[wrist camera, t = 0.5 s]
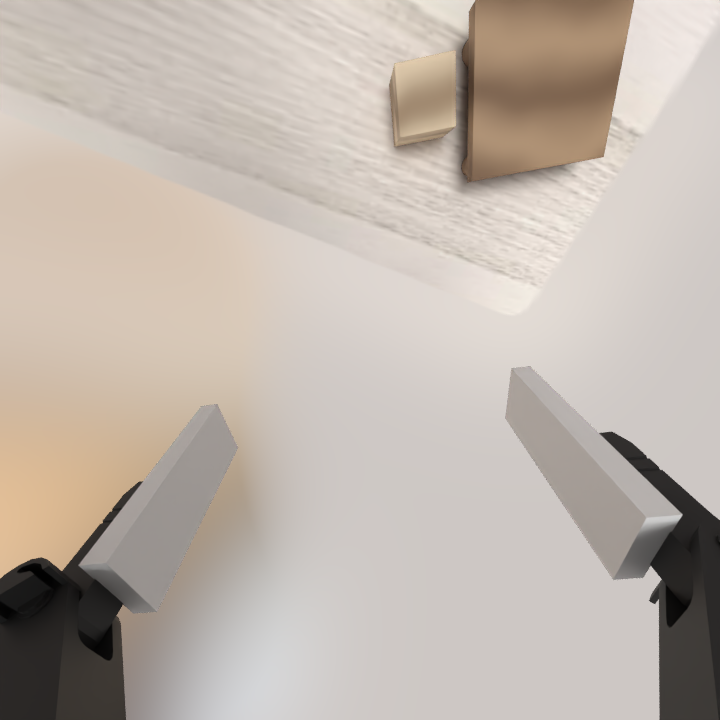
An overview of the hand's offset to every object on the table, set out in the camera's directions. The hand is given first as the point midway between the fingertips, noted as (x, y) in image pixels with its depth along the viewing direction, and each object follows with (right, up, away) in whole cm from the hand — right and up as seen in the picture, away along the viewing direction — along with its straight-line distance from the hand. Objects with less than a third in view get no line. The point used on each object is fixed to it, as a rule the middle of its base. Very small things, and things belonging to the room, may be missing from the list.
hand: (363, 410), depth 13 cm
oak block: (+6, +27, +16) cm, 32 cm away
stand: (+16, +28, +16) cm, 36 cm away
